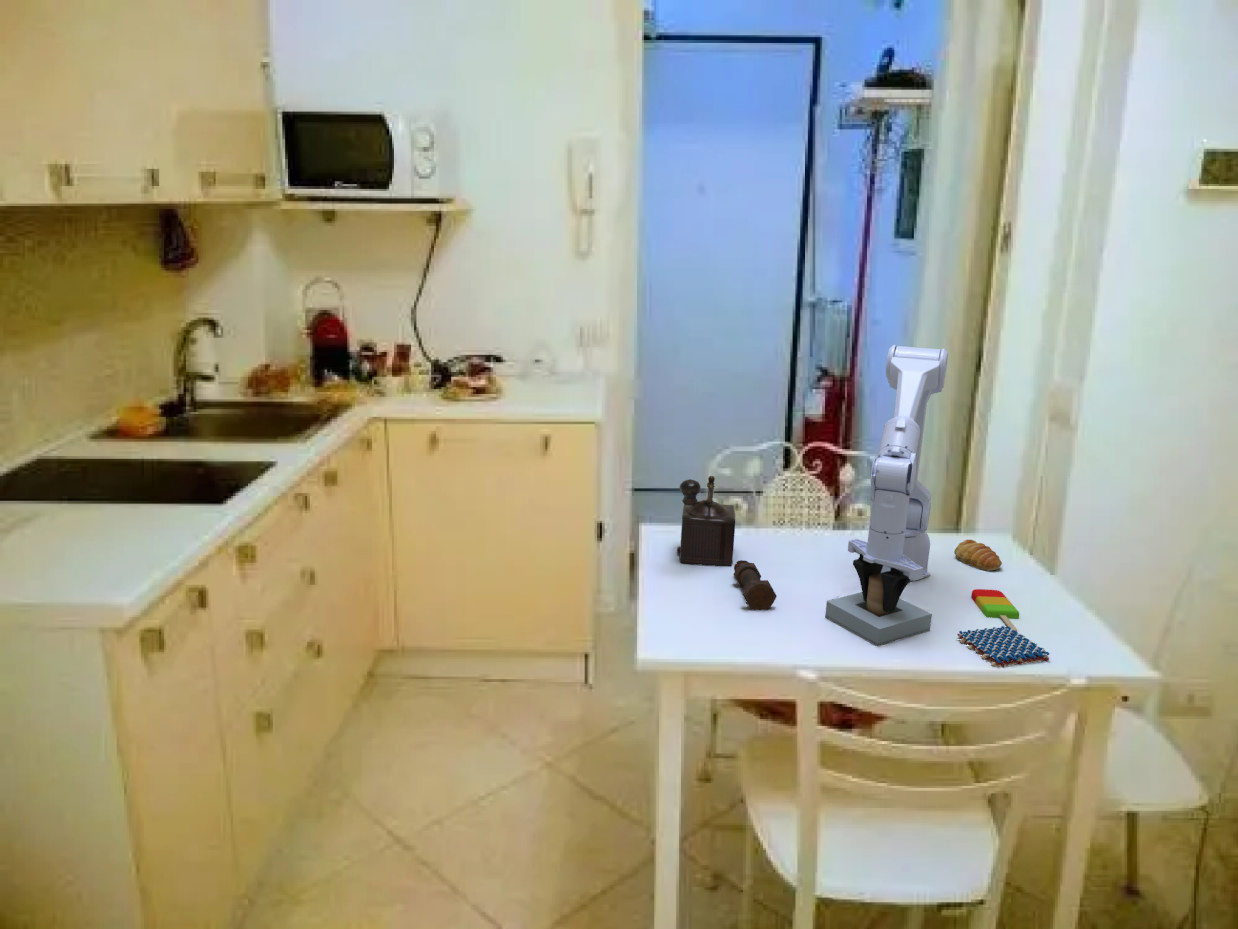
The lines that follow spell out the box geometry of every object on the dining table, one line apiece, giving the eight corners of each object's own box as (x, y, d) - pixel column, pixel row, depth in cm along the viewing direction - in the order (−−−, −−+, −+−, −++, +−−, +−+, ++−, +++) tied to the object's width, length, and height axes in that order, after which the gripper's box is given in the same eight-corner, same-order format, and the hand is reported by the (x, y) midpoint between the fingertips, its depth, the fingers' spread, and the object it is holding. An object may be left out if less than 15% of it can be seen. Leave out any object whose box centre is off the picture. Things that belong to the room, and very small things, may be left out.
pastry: (1010, 570, 177) (1012, 552, 176) (982, 575, 175) (985, 556, 174) (975, 553, 185) (978, 536, 184) (949, 558, 183) (951, 540, 182)
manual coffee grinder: (677, 544, 186) (681, 460, 181) (732, 547, 185) (737, 462, 180) (675, 573, 171) (678, 482, 166) (734, 577, 170) (739, 485, 165)
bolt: (744, 585, 171) (763, 617, 157) (722, 573, 170) (739, 604, 156) (761, 560, 170) (781, 590, 156) (739, 547, 169) (757, 576, 155)
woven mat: (1006, 634, 151) (1008, 623, 150) (1051, 664, 141) (1053, 652, 140) (952, 640, 148) (953, 629, 148) (994, 671, 138) (995, 659, 138)
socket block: (876, 603, 160) (877, 587, 159) (929, 630, 150) (932, 614, 149) (825, 617, 154) (826, 601, 153) (877, 646, 144) (879, 629, 143)
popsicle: (999, 598, 164) (1001, 589, 164) (1031, 636, 150) (1032, 626, 150) (968, 597, 165) (970, 588, 164) (997, 635, 150) (998, 624, 150)
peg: (876, 610, 154) (880, 571, 153) (895, 618, 151) (899, 579, 149) (860, 615, 152) (864, 576, 150) (879, 624, 149) (883, 585, 147)
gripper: (837, 518, 152) (830, 593, 155) (903, 546, 140) (894, 627, 143) (868, 512, 155) (860, 586, 159) (935, 539, 143) (925, 618, 147)
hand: (878, 605), depth 151 cm, fingers closed on peg, 4 cm apart
